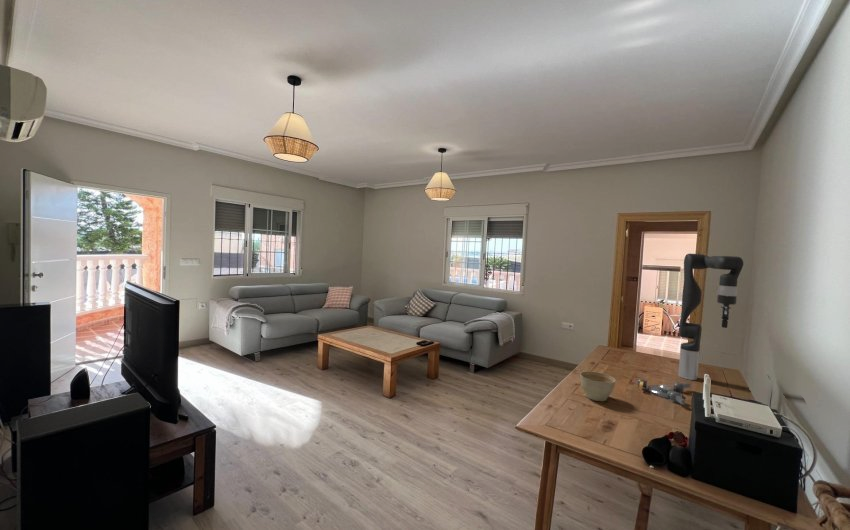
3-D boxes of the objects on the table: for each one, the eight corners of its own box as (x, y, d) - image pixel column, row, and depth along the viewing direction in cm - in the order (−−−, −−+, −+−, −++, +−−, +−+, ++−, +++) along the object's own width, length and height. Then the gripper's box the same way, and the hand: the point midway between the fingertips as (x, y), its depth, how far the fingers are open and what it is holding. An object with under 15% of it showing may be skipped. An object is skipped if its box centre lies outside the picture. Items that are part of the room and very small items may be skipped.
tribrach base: (643, 382, 206) (643, 375, 205) (683, 392, 193) (684, 384, 193) (635, 392, 189) (636, 385, 189) (679, 404, 177) (680, 396, 177)
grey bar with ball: (679, 391, 191) (680, 385, 191) (671, 388, 195) (672, 382, 195) (692, 389, 194) (693, 383, 194) (684, 386, 198) (685, 380, 198)
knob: (667, 397, 182) (668, 390, 182) (677, 398, 181) (677, 391, 181) (678, 405, 172) (678, 399, 172) (688, 406, 171) (688, 400, 171)
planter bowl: (612, 407, 169) (614, 385, 169) (576, 398, 178) (577, 377, 177) (615, 396, 183) (616, 375, 182) (581, 388, 191) (582, 368, 191)
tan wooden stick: (637, 383, 200) (638, 377, 200) (646, 385, 197) (647, 379, 197) (635, 388, 192) (636, 383, 191) (645, 391, 189) (645, 385, 189)
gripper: (718, 292, 194) (715, 324, 195) (717, 294, 184) (714, 328, 185) (736, 294, 189) (733, 327, 190) (736, 296, 179) (734, 330, 180)
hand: (724, 327), depth 187 cm, fingers closed
